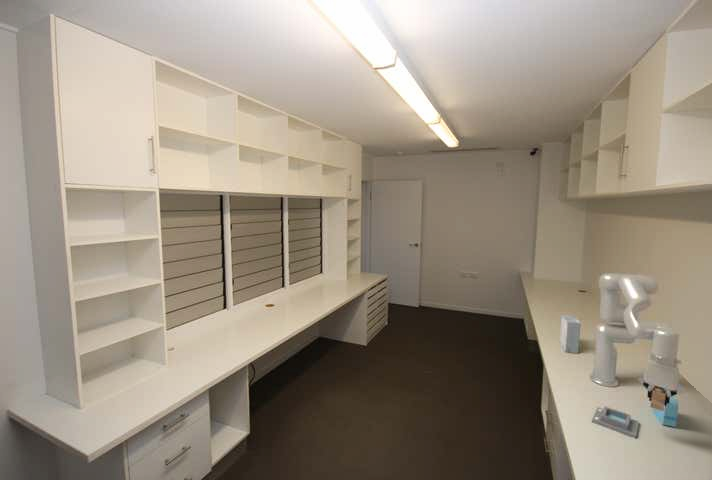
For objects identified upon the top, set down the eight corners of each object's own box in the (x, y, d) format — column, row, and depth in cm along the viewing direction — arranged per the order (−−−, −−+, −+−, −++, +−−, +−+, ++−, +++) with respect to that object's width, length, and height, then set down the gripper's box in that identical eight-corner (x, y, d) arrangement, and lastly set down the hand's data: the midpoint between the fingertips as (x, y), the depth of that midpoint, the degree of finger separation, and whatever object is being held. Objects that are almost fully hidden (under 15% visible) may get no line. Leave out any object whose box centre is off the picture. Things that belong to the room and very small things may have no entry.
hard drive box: (578, 354, 217) (581, 323, 215) (564, 352, 220) (567, 322, 217) (572, 344, 232) (574, 315, 230) (559, 342, 234) (561, 314, 232)
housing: (597, 409, 160) (598, 402, 160) (639, 423, 150) (639, 416, 149) (591, 422, 151) (592, 414, 150) (635, 438, 140) (636, 430, 140)
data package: (676, 428, 147) (679, 402, 145) (662, 426, 148) (665, 399, 147) (664, 412, 157) (667, 388, 156) (651, 410, 159) (654, 386, 158)
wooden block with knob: (651, 402, 143) (653, 383, 142) (664, 406, 140) (666, 387, 139) (650, 407, 140) (652, 387, 139) (663, 411, 137) (666, 391, 136)
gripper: (692, 363, 134) (686, 406, 137) (637, 349, 146) (632, 390, 148) (692, 370, 129) (686, 415, 132) (635, 355, 141) (630, 397, 143)
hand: (657, 401), depth 140 cm, fingers closed on wooden block with knob, 4 cm apart
